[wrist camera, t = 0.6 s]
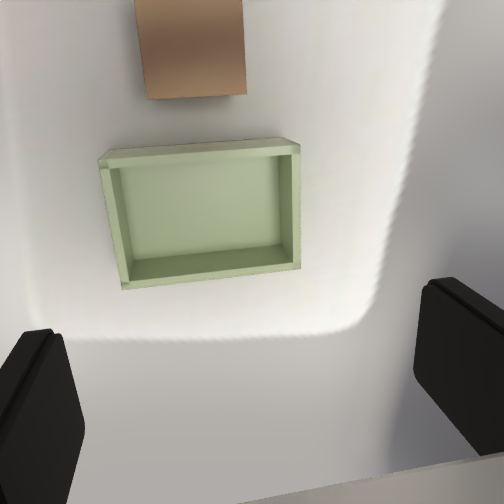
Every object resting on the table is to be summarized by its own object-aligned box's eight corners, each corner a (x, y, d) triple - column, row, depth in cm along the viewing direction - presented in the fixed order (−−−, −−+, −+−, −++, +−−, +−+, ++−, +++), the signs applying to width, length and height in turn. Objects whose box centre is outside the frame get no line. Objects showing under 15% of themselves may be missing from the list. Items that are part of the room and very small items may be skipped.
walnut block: (139, 3, 28) (131, -19, 22) (228, 0, 29) (240, -21, 23) (152, 98, 30) (147, 99, 24) (234, 93, 31) (246, 93, 25)
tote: (109, 149, 31) (97, 159, 26) (282, 137, 32) (300, 144, 28) (129, 263, 34) (122, 290, 29) (284, 246, 36) (300, 268, 31)
